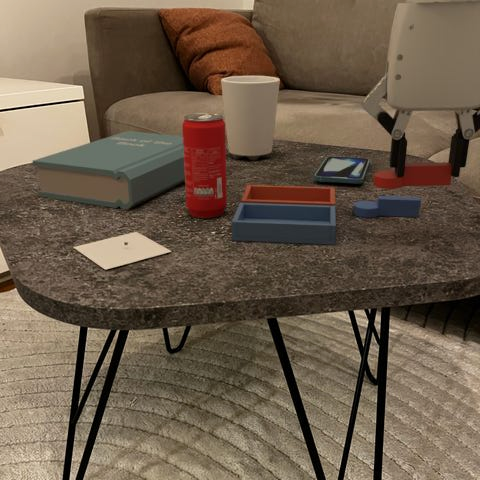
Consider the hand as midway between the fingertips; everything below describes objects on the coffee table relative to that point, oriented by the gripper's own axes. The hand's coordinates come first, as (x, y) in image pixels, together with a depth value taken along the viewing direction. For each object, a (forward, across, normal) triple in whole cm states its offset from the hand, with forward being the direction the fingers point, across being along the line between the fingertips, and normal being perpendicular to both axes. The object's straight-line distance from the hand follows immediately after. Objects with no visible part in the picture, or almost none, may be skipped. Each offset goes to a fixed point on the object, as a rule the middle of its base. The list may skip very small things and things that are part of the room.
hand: (426, 172), depth 65 cm
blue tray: (+7, +16, 0) cm, 17 cm away
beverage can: (+7, +26, -6) cm, 28 cm away
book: (+7, +40, -19) cm, 45 cm away
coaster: (+7, +33, +8) cm, 35 cm away
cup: (+7, +24, -38) cm, 45 cm away
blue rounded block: (+7, +3, -8) cm, 11 cm away
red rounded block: (+1, +1, 0) cm, 2 cm away
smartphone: (+7, +8, -28) cm, 30 cm away
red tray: (+7, +16, -8) cm, 19 cm away
